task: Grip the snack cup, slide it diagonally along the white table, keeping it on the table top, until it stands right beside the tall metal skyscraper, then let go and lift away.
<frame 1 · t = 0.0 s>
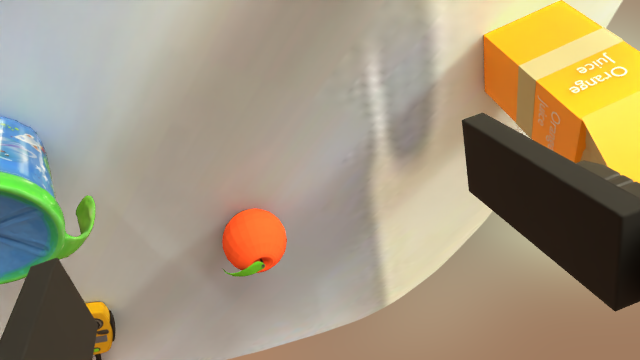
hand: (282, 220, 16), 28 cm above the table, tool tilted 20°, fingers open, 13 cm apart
clementine: (243, 218, 57), on the table
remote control: (95, 335, 63), on the table
orange juice: (519, 46, 53), on the table
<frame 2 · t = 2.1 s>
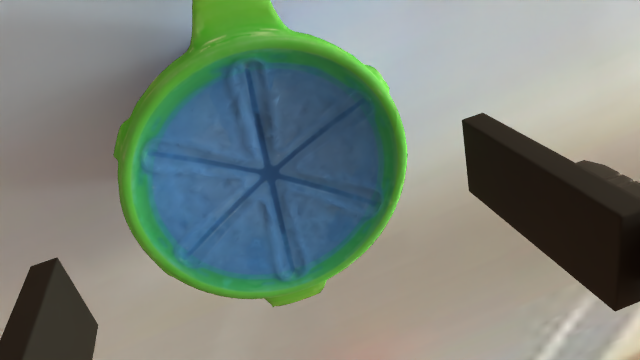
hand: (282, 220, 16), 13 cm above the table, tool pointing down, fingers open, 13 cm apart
snack cup: (238, 101, 27), on the table
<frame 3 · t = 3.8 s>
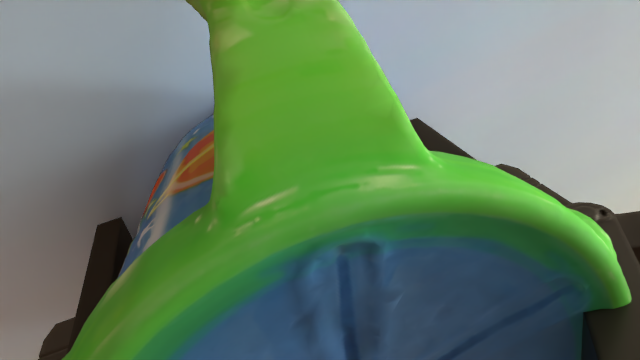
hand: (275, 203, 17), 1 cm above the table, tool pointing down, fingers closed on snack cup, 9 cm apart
snack cup: (270, 193, 18), on the table, touching gripper
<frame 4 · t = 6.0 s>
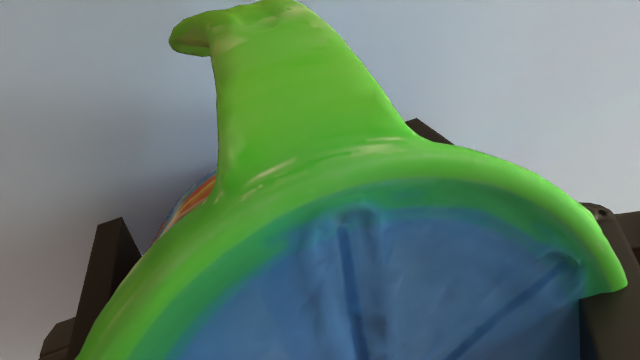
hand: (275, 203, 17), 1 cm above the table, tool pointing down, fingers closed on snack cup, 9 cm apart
snack cup: (267, 254, 18), point 1 cm above the table, touching gripper
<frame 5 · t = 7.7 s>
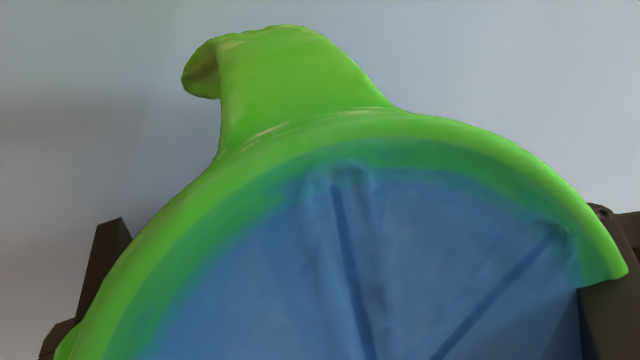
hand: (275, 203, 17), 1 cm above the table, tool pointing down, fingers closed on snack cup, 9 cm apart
snack cup: (276, 309, 18), point 2 cm above the table, touching gripper
when the fingers open (1 cm above the table, at t = 8.2 s): snack cup drops 1 cm, on the table.
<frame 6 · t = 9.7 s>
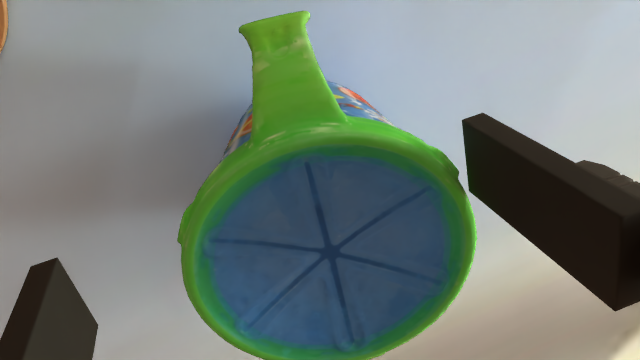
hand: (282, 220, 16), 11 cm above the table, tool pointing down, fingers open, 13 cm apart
snack cup: (306, 143, 27), on the table
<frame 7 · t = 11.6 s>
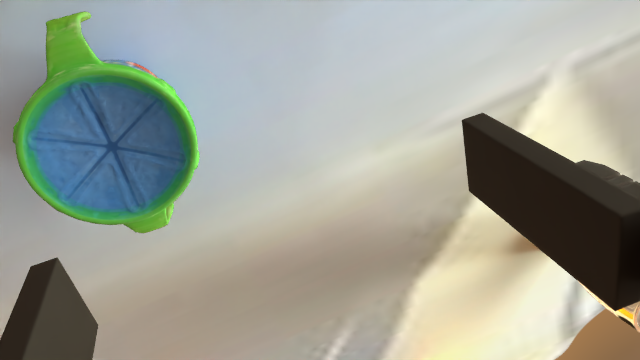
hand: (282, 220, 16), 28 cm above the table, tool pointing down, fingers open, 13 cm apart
beer glass: (551, 225, 59), on the table
snack cup: (121, 105, 40), on the table
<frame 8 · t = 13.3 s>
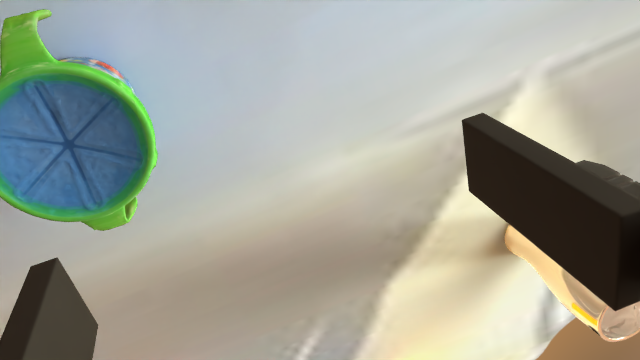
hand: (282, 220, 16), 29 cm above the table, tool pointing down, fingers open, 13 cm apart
beer glass: (525, 230, 59), on the table
snack cup: (87, 102, 40), on the table
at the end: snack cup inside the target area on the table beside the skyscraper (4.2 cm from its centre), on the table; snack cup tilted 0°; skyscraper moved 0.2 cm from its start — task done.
